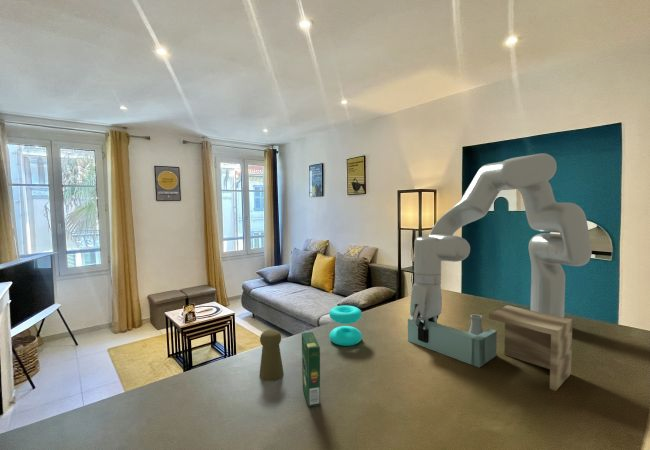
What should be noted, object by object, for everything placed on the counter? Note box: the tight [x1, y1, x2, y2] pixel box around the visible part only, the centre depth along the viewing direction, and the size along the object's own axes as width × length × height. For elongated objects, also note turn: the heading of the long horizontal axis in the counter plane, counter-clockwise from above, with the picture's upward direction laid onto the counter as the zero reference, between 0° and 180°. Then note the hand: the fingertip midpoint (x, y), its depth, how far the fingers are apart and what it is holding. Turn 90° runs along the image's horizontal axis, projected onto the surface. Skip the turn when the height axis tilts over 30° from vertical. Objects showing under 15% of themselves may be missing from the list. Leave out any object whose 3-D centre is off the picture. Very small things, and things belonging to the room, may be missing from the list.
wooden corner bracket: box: [488, 304, 573, 392], centre depth 82 cm, size 11×15×14 cm
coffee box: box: [301, 331, 321, 408], centre depth 71 cm, size 8×3×13 cm, turn 13°
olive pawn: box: [258, 329, 284, 382], centre depth 81 cm, size 6×6×11 cm
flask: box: [467, 313, 484, 335], centre depth 93 cm, size 7×7×10 cm
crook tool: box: [407, 316, 498, 368], centre depth 95 cm, size 10×22×7 cm, turn 39°
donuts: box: [329, 304, 363, 347], centre depth 101 cm, size 10×10×10 cm
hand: (426, 339), depth 97 cm, fingers closed on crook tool, 3 cm apart
